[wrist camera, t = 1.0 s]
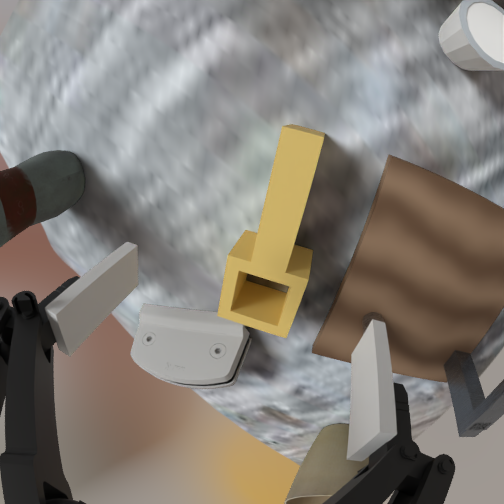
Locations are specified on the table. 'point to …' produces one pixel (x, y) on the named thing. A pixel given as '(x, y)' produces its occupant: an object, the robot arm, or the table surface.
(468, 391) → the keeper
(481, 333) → the board
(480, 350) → the table surface
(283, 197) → the link
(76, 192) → the bottle
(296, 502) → the plant pot
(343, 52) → the table surface
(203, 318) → the white d-shaped block
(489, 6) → the white cylinder
